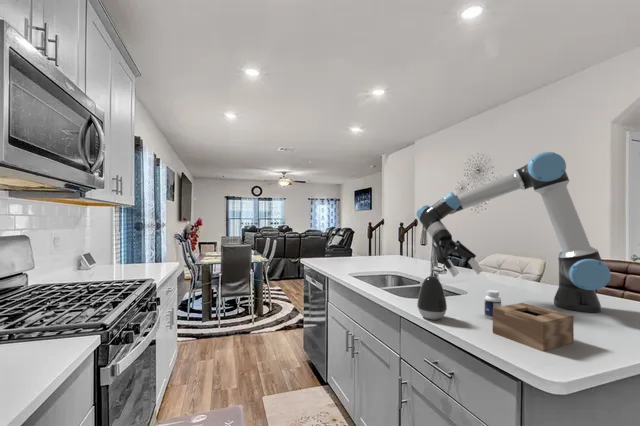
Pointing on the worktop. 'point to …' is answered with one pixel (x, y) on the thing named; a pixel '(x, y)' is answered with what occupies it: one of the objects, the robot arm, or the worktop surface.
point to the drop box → (533, 326)
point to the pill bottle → (491, 302)
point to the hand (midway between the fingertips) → (468, 273)
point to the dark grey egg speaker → (432, 299)
